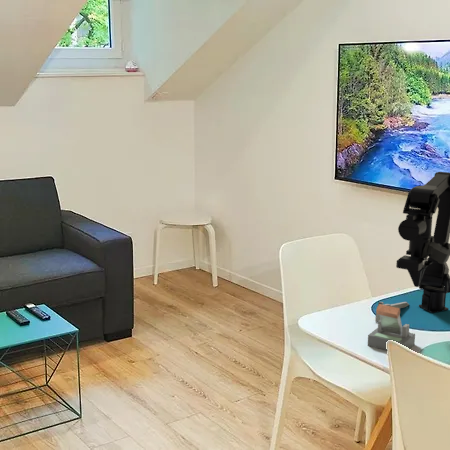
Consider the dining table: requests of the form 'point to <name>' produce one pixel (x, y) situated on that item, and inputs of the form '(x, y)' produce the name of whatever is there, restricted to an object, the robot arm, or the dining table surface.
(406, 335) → the breaker housing
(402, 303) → the caliper
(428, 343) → the dining table surface
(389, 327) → the toggle lever
